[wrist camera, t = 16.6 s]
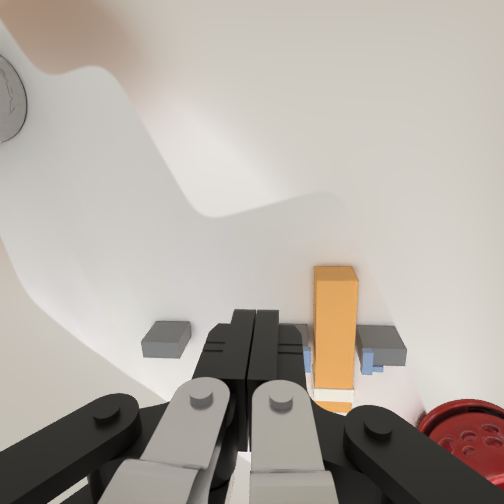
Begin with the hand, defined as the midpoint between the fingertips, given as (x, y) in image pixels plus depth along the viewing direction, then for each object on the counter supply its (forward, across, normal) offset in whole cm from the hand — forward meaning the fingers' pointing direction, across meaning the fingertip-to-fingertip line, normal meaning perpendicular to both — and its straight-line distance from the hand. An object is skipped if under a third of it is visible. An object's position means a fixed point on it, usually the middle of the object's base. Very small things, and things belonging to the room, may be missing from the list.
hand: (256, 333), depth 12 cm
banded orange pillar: (+25, -6, +15) cm, 30 cm away
